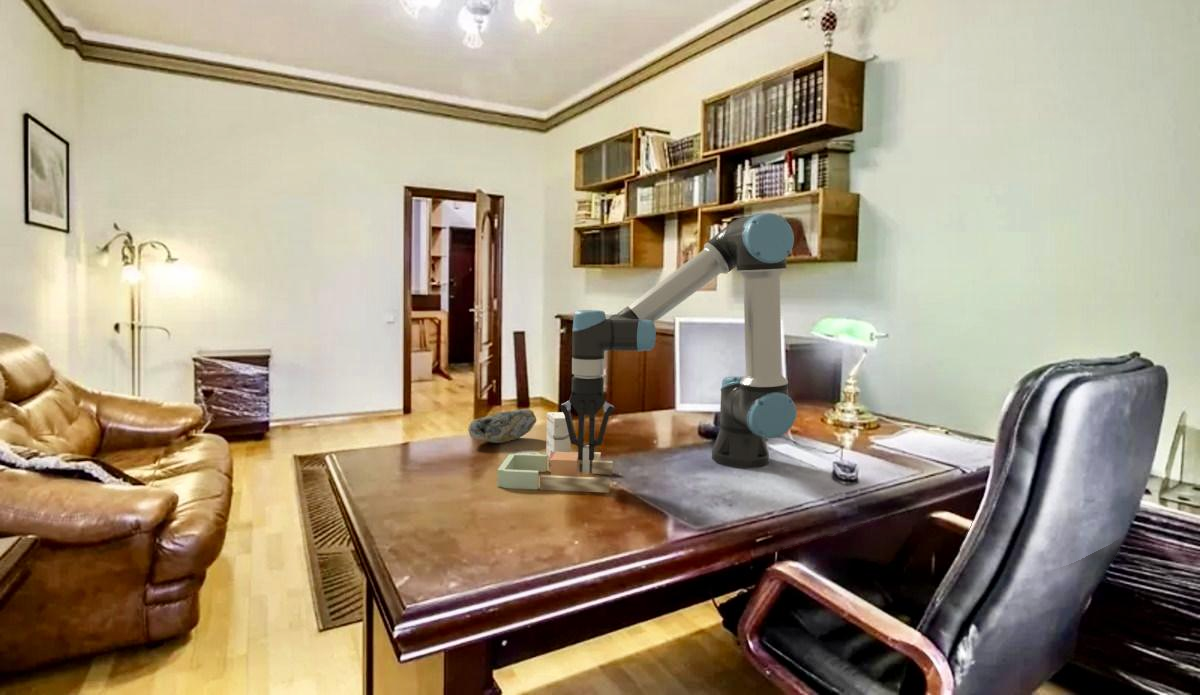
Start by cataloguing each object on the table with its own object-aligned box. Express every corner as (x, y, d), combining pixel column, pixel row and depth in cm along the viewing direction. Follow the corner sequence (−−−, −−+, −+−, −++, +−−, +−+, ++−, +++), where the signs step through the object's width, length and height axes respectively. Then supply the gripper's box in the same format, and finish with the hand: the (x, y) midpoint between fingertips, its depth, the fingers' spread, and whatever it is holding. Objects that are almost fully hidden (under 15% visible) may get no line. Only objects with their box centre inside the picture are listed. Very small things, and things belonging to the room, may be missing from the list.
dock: (547, 470, 164) (547, 454, 164) (537, 489, 149) (537, 472, 149) (510, 468, 165) (510, 453, 164) (496, 487, 150) (496, 470, 149)
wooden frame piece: (613, 464, 170) (614, 452, 170) (609, 492, 148) (609, 479, 148) (553, 461, 171) (553, 450, 171) (539, 489, 149) (539, 476, 149)
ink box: (571, 461, 172) (572, 417, 171) (553, 463, 170) (554, 418, 169) (562, 453, 180) (563, 411, 179) (545, 454, 179) (546, 411, 177)
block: (579, 476, 159) (579, 452, 159) (576, 485, 153) (576, 460, 152) (554, 475, 160) (555, 451, 159) (550, 484, 153) (551, 459, 152)
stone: (461, 442, 189) (461, 408, 188) (529, 434, 200) (529, 402, 198) (473, 451, 180) (473, 416, 178) (543, 443, 190) (544, 409, 189)
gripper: (616, 374, 156) (613, 469, 159) (562, 372, 157) (560, 467, 160) (614, 379, 149) (612, 479, 152) (558, 377, 150) (556, 476, 152)
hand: (585, 473), depth 156 cm, fingers closed
